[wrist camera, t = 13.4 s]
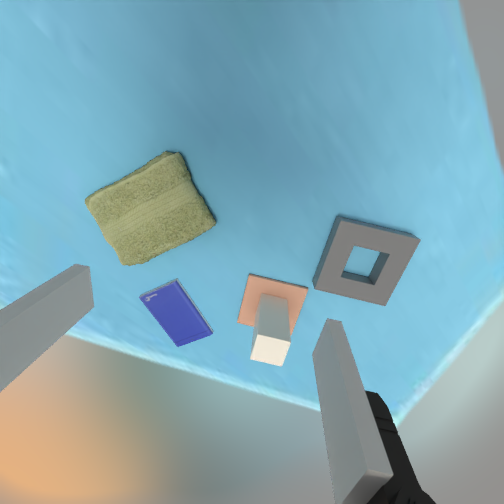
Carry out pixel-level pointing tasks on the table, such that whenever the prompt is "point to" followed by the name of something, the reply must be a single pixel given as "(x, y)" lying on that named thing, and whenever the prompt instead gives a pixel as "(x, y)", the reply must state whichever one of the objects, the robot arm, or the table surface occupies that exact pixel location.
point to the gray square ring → (384, 271)
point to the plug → (271, 330)
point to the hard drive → (176, 313)
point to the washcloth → (150, 210)
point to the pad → (274, 288)
